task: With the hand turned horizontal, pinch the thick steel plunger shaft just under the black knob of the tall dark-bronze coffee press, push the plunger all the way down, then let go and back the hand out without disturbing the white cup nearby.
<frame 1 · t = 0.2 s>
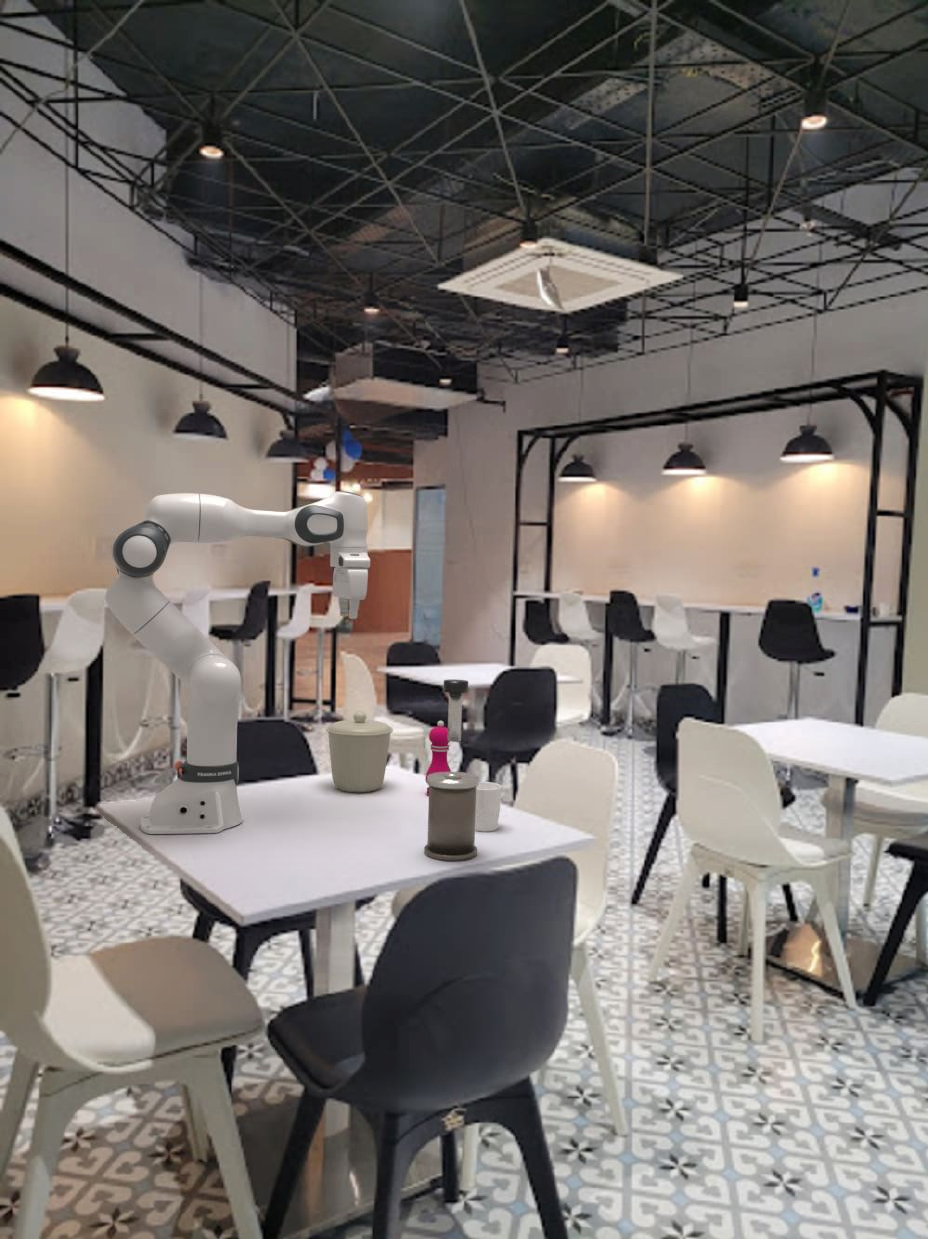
hand: (348, 617, 217), 48 cm above the table, tool pointing down, fingers open, 8 cm apart
pepper mill: (438, 795, 241), on the table
canister: (358, 789, 246), on the table
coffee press: (450, 853, 191), on the table
white cup: (483, 828, 211), on the table
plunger: (455, 710, 190), point 30 cm above the table, slide at 7.0 cm
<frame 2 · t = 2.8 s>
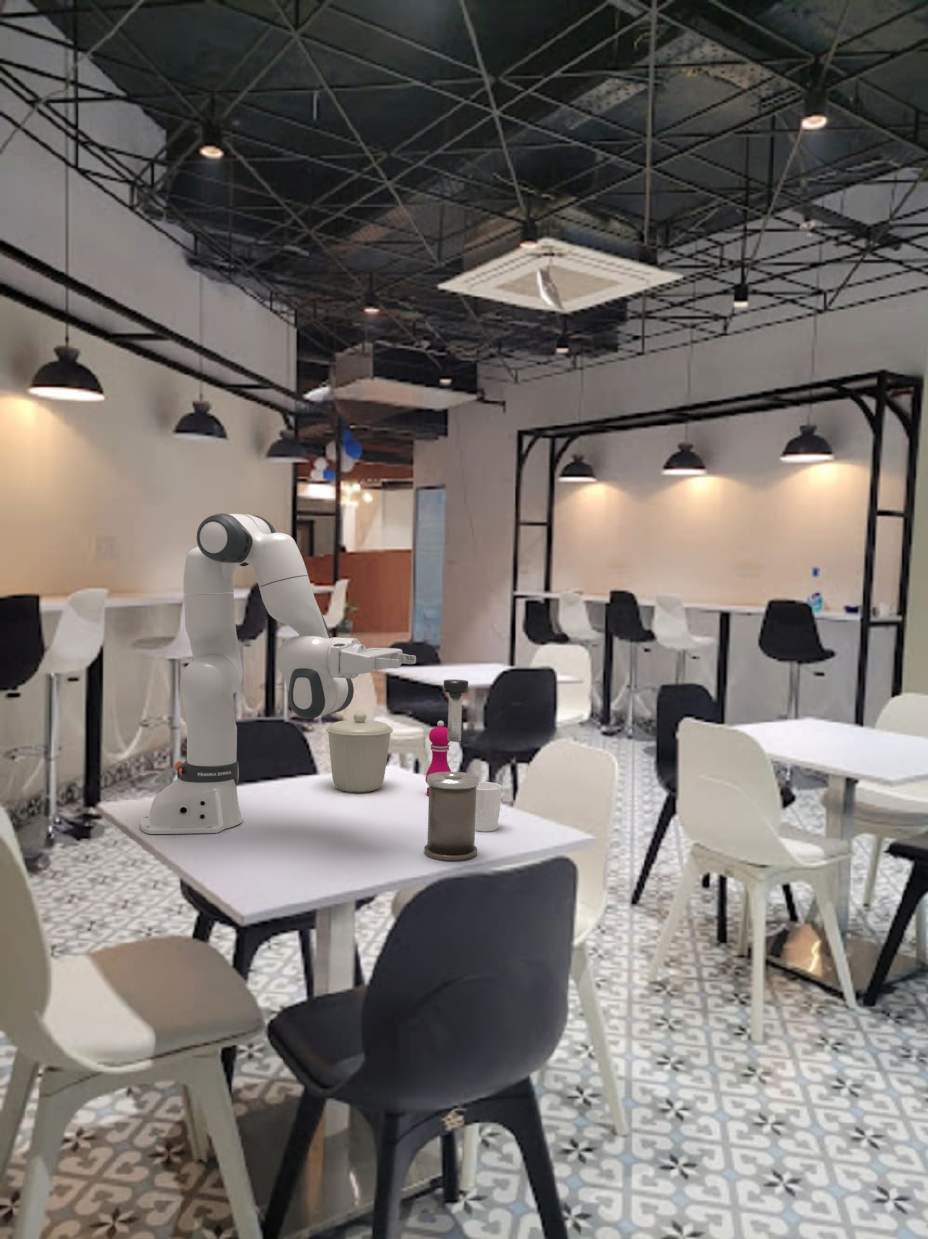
hand: (407, 661, 193), 40 cm above the table, tool horizontal, fingers open, 8 cm apart
nothing on the table moved.
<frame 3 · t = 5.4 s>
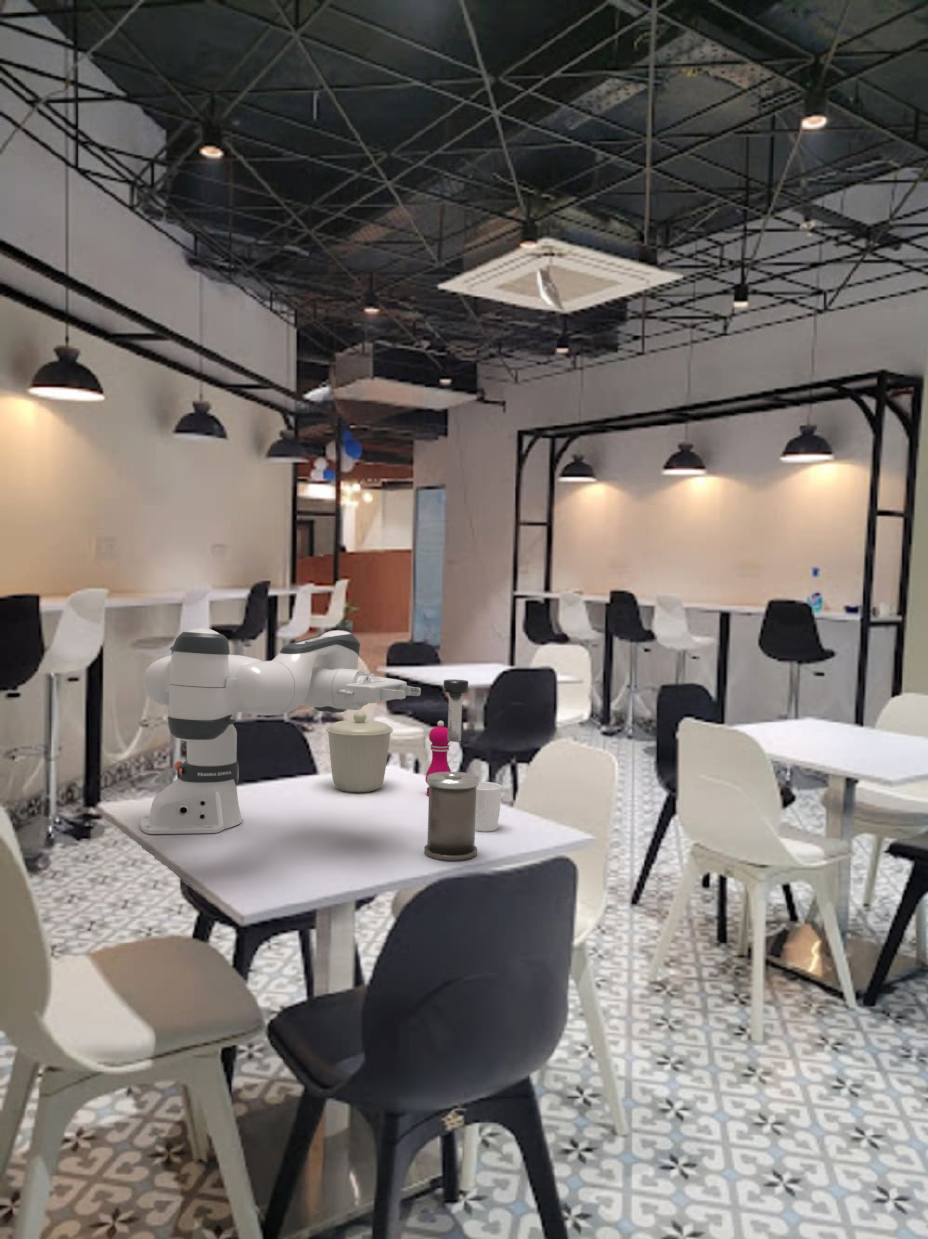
hand: (412, 693, 193), 33 cm above the table, tool horizontal, fingers open, 8 cm apart
nothing on the table moved.
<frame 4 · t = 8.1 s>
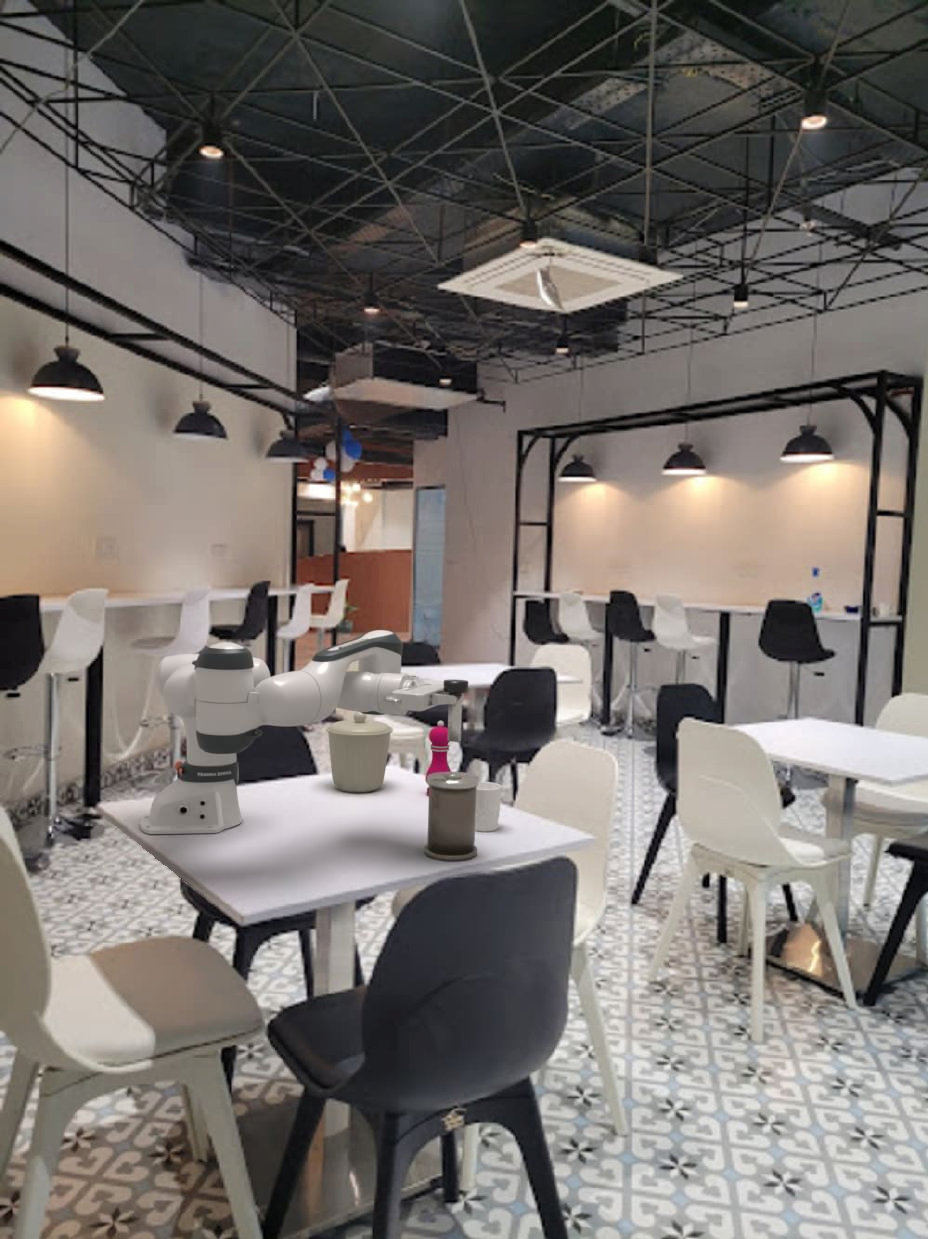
hand: (459, 698, 189), 33 cm above the table, tool horizontal, fingers closed on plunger, 3 cm apart
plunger: (455, 710, 190), point 30 cm above the table, slide at 7.0 cm, touching gripper
everything else where it was.
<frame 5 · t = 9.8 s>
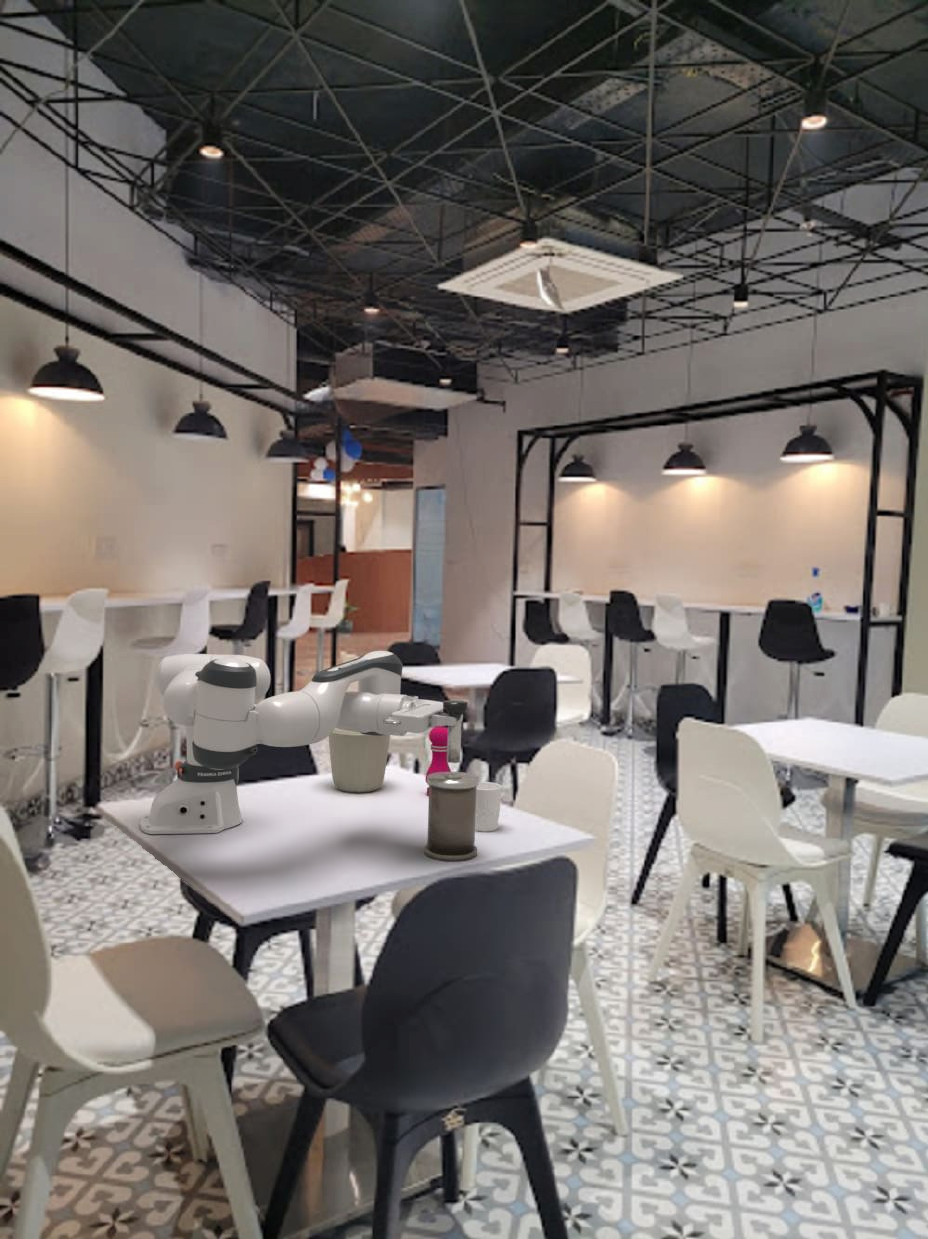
hand: (458, 719, 190), 29 cm above the table, tool horizontal, fingers closed on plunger, 3 cm apart
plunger: (454, 731, 190), point 26 cm above the table, slide at 2.5 cm, touching gripper
everything else where it was.
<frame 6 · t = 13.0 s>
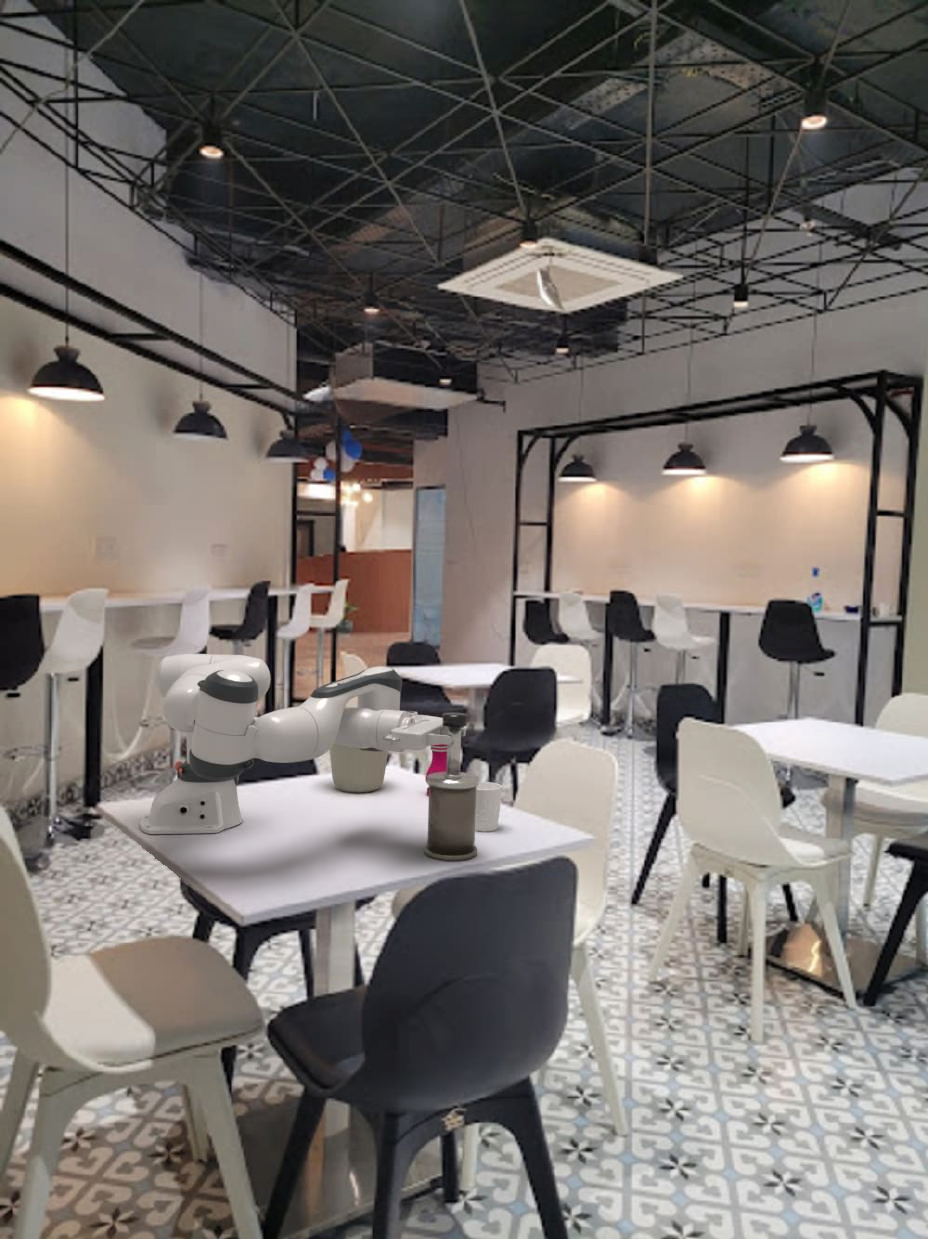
hand: (458, 736, 190), 25 cm above the table, tool horizontal, fingers open, 8 cm apart
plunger: (454, 744, 190), point 23 cm above the table, slide at -0.1 cm, touching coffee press
everything else where it was.
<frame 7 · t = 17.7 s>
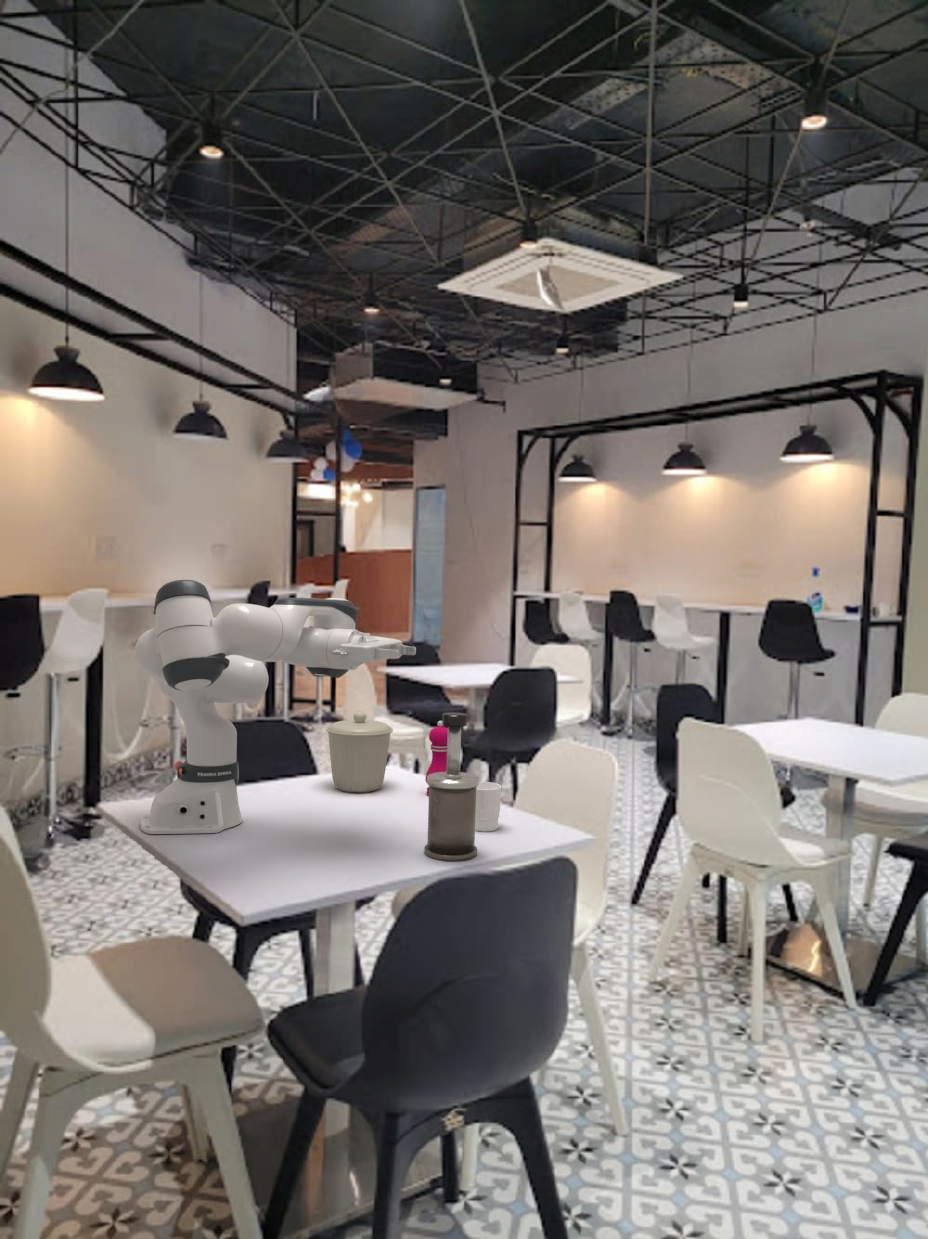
hand: (407, 652, 192), 42 cm above the table, tool horizontal, fingers open, 8 cm apart
nothing on the table moved.
at the end: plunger slide at -0.1 cm; the gripper is holding nothing; white cup moved 0.2 cm from its start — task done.
